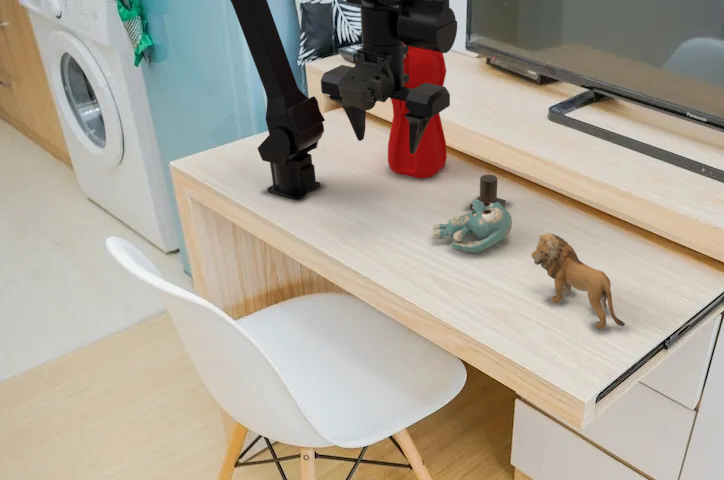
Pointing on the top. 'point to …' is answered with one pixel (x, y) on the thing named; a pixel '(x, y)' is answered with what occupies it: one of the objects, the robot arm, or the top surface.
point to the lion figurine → (574, 275)
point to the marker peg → (489, 190)
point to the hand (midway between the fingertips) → (386, 146)
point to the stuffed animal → (477, 227)
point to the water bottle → (432, 145)
